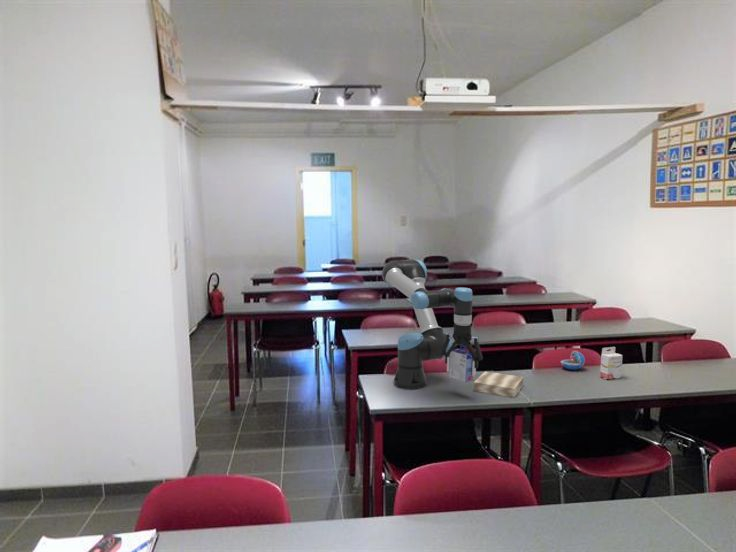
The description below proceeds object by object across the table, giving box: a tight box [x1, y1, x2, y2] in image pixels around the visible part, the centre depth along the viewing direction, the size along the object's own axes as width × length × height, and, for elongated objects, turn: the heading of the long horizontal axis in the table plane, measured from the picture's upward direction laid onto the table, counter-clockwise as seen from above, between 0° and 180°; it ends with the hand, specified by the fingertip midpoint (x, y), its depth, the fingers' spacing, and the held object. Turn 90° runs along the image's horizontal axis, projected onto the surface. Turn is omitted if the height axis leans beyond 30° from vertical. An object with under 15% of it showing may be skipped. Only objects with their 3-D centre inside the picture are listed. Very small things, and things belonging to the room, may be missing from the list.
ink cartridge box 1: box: [448, 345, 474, 383], centre depth 213 cm, size 10×6×14 cm, turn 38°
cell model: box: [560, 350, 586, 371], centre depth 250 cm, size 10×12×10 cm
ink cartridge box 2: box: [599, 346, 623, 380], centre depth 236 cm, size 9×5×15 cm, turn 108°
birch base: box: [473, 371, 524, 398], centre depth 223 cm, size 18×18×4 cm
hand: (461, 372), depth 214 cm, fingers closed on ink cartridge box 1, 11 cm apart
